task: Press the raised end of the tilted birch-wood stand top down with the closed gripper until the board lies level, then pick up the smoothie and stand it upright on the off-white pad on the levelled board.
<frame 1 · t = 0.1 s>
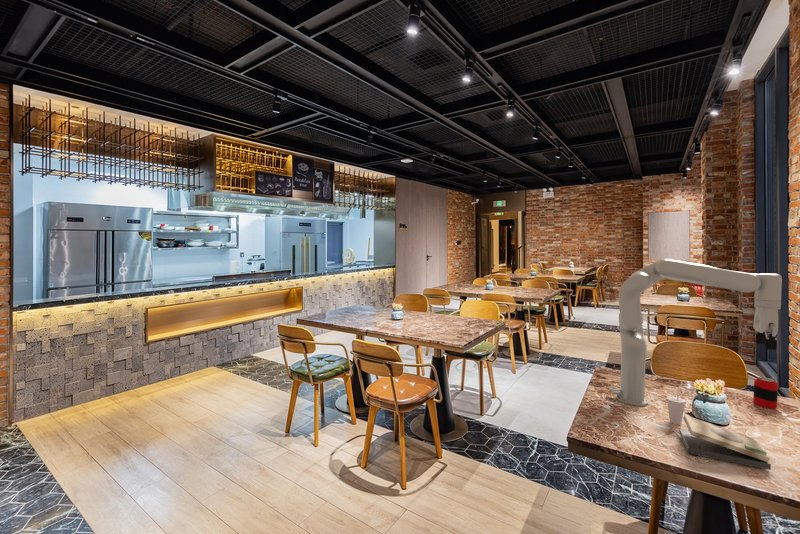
hand: (765, 346, 149), 31 cm above the table, tool pointing down, fingers open, 9 cm apart
stand top: (723, 435, 128), point 6 cm above the table, hinge at 12.0°
stand base: (720, 452, 128), on the table
smoothie: (675, 423, 151), on the table
soda can: (764, 405, 166), on the table
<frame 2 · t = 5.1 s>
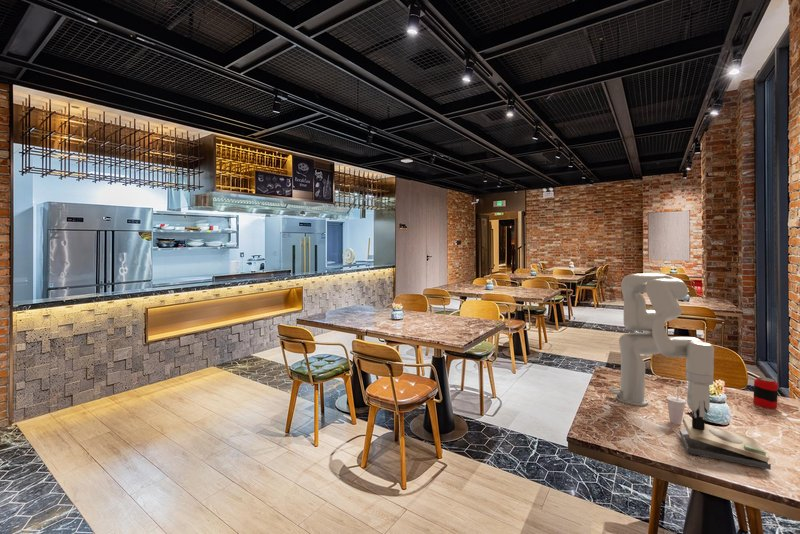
hand: (698, 428, 131), 7 cm above the table, tool pointing down, fingers closed
stand top: (722, 436, 128), point 6 cm above the table, hinge at 8.5°, touching gripper
everything else where it was.
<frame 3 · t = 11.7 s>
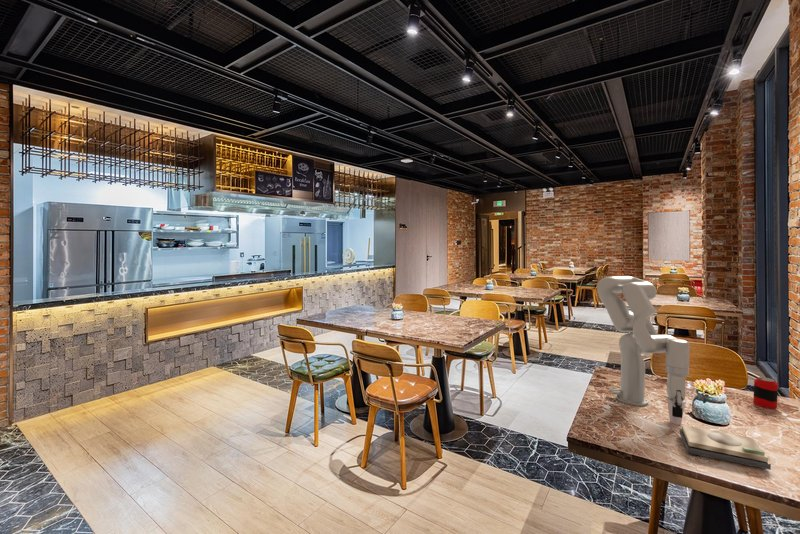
hand: (675, 413, 150), 4 cm above the table, tool pointing down, fingers closed on smoothie, 6 cm apart
stand top: (721, 440, 128), point 4 cm above the table, hinge at 0.4°
smoothie: (675, 423, 151), on the table, touching gripper
everything else where it was.
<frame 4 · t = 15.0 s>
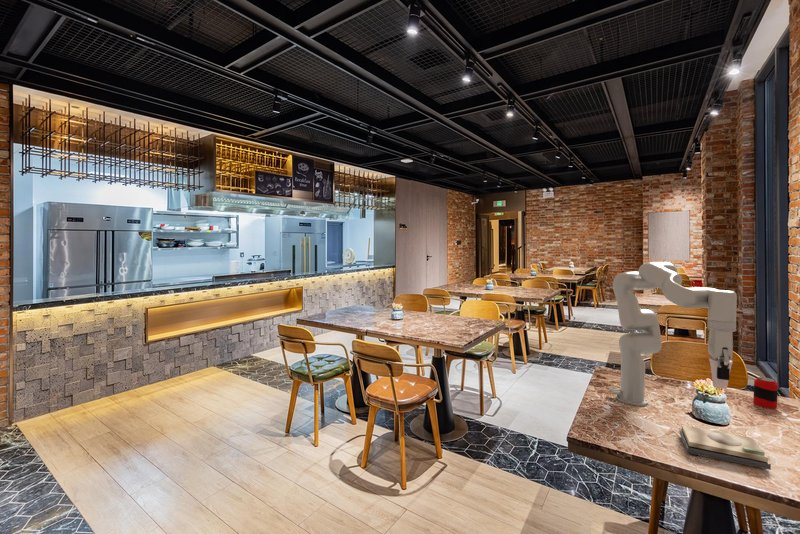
hand: (720, 375, 130), 26 cm above the table, tool pointing down, fingers closed on smoothie, 6 cm apart
smoothie: (719, 387, 130), point 22 cm above the table, touching gripper
everything else where it was.
when the fingers open (10 cm above the table, at t = 18.7 s): smoothie drops 1 cm, resting on stand top.
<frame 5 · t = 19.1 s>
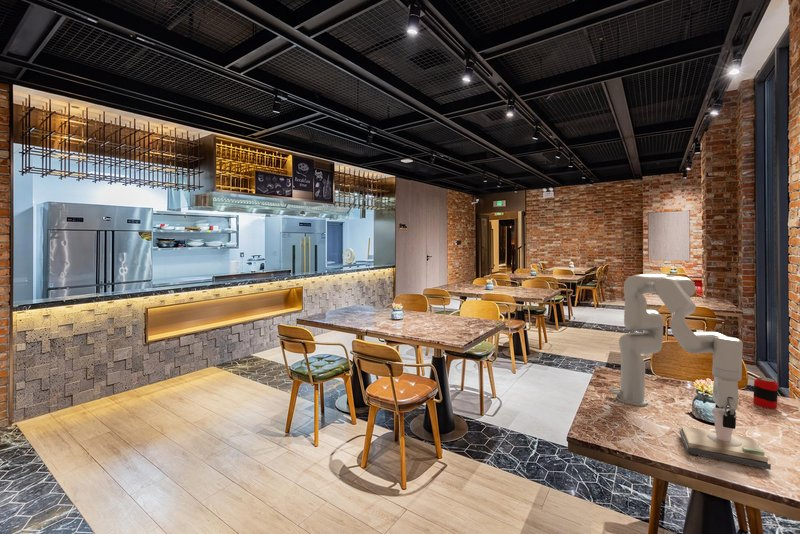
hand: (724, 421, 128), 11 cm above the table, tool pointing down, fingers open, 9 cm apart
stand top: (721, 441, 128), point 4 cm above the table, hinge at -0.6°, touching smoothie, stand base
smoothie: (723, 439, 129), point 4 cm above the table, touching stand top
everything else where it was.
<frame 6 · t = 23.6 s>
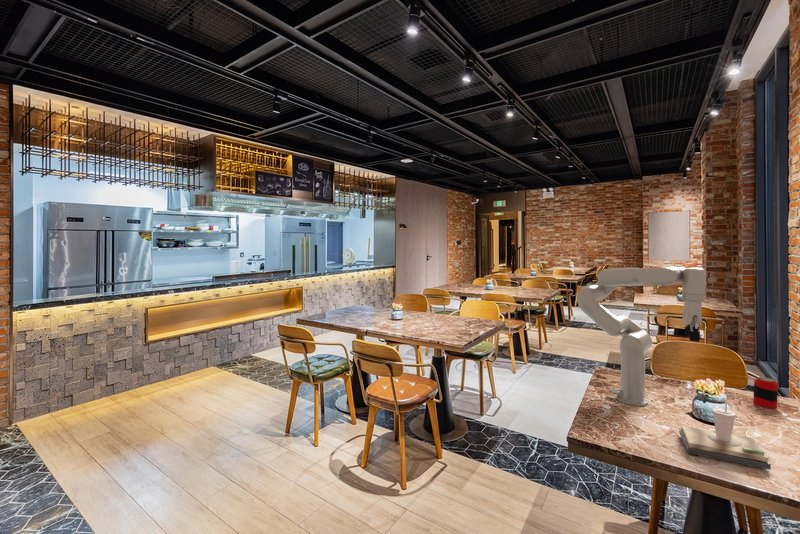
hand: (692, 338, 154), 33 cm above the table, tool pointing down, fingers open, 9 cm apart
stand top: (721, 441, 128), point 4 cm above the table, hinge at -0.6°, touching stand base
smoothie: (723, 439, 129), point 4 cm above the table
everything else where it was.
at the end: stand top at -1° (first picture: +12°); smoothie inside the target area (0.3 cm from its centre), point 4.3 cm above the table; smoothie tilted 1° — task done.
